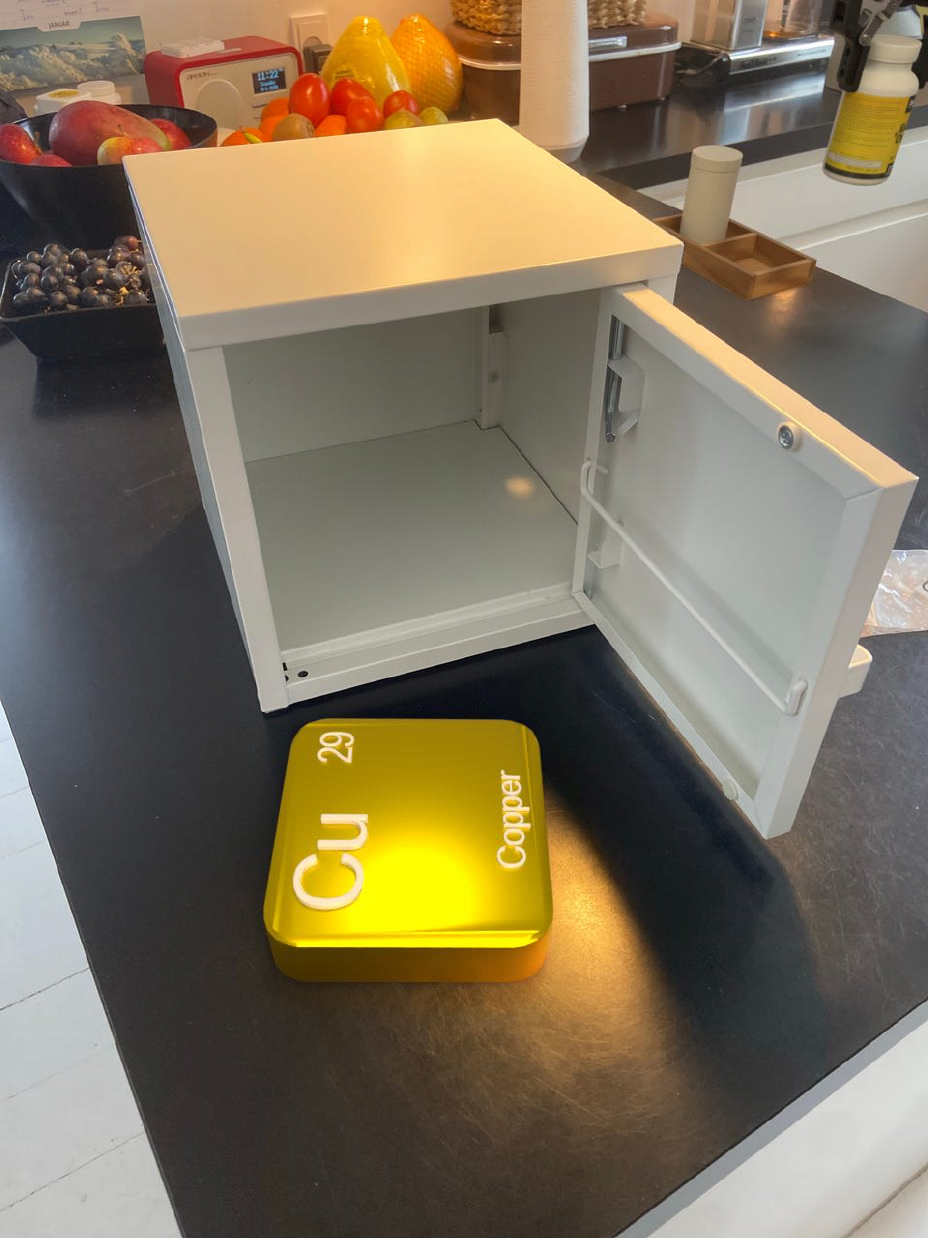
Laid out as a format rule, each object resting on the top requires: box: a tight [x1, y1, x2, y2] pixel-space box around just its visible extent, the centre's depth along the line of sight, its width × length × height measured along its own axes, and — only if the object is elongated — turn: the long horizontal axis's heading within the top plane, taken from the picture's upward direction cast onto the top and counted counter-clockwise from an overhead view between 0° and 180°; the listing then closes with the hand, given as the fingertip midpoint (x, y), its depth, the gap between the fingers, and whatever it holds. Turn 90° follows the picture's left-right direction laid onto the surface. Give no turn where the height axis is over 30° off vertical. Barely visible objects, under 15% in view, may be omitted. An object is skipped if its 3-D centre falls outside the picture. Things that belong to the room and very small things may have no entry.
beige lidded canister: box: [679, 145, 744, 245], centre depth 118 cm, size 6×6×12 cm
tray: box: [650, 212, 818, 301], centre depth 118 cm, size 11×20×4 cm, turn 29°
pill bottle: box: [821, 33, 922, 187], centre depth 86 cm, size 6×6×12 cm
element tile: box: [262, 718, 554, 983], centre depth 52 cm, size 15×15×5 cm
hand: (880, 88), depth 85 cm, fingers closed on pill bottle, 6 cm apart
